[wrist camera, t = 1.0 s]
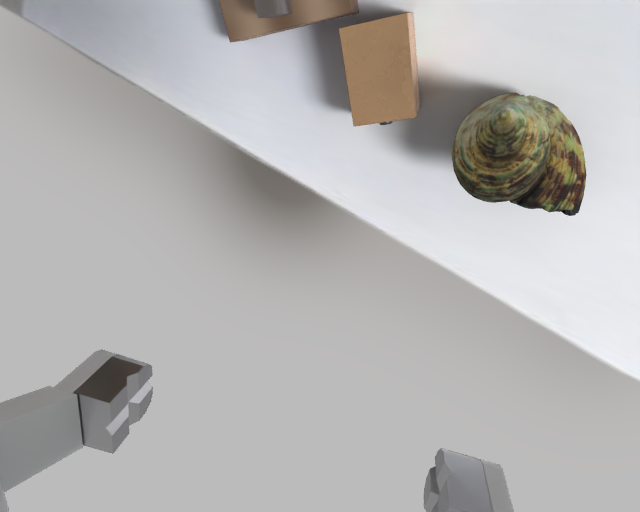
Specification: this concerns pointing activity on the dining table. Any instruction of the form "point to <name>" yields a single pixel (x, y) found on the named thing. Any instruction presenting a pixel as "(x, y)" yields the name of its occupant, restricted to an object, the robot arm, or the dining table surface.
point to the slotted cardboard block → (381, 69)
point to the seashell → (521, 154)
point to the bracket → (278, 15)
